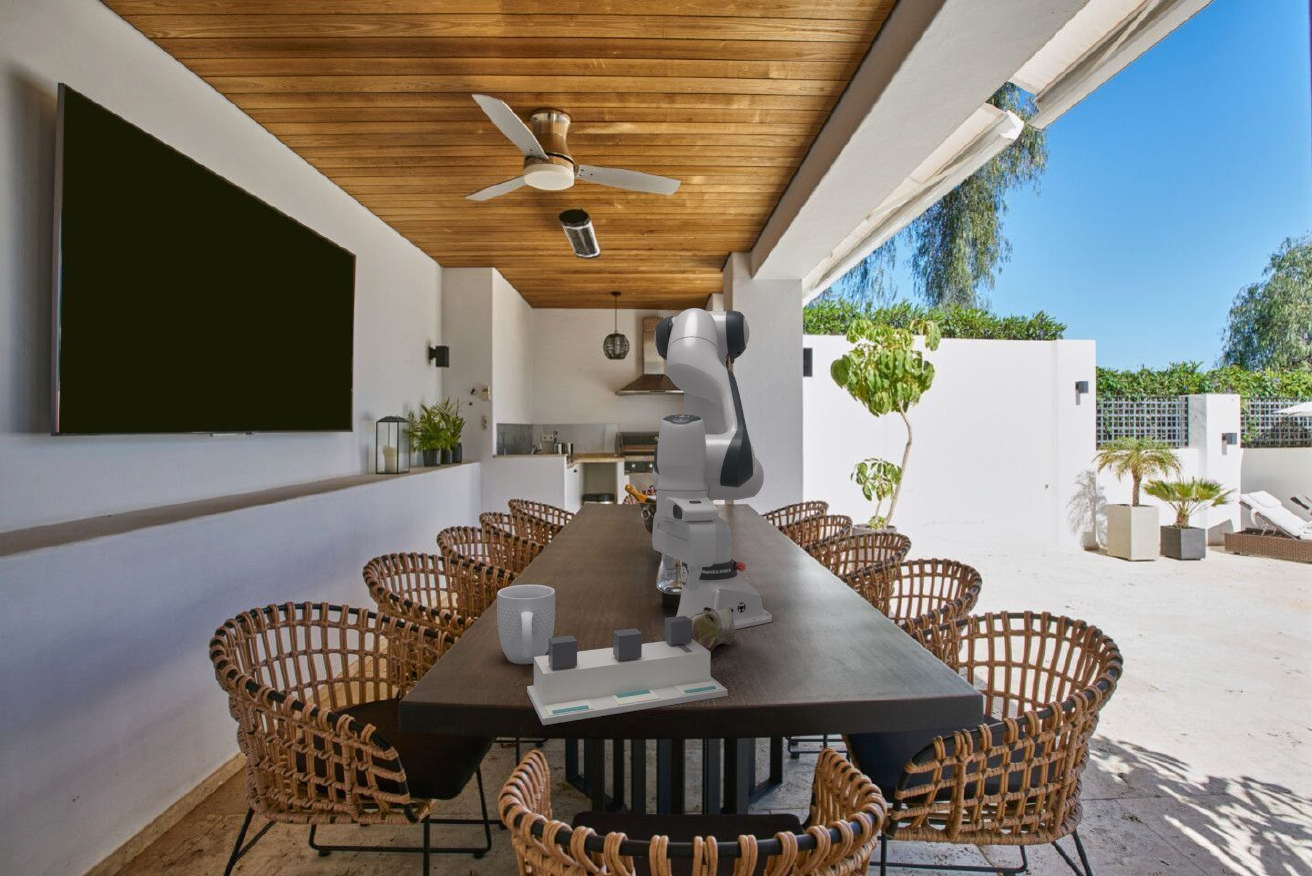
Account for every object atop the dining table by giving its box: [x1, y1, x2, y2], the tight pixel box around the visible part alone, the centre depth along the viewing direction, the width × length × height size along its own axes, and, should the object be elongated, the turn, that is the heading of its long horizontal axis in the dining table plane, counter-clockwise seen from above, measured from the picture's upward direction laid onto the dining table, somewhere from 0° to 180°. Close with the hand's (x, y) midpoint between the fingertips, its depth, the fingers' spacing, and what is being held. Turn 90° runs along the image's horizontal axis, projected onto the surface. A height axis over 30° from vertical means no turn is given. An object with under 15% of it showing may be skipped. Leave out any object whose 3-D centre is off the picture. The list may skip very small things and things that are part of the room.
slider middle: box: [612, 627, 643, 660], centre depth 109 cm, size 4×3×4 cm
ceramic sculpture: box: [663, 607, 736, 653], centre depth 132 cm, size 11×9×15 cm
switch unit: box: [526, 639, 729, 726], centre depth 109 cm, size 31×13×6 cm, turn 111°
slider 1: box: [547, 634, 578, 669], centre depth 105 cm, size 4×3×4 cm
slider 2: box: [664, 616, 692, 645], centre depth 116 cm, size 4×3×4 cm
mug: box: [496, 584, 556, 665], centre depth 123 cm, size 15×11×13 cm
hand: (680, 584), depth 115 cm, fingers open, 8 cm apart
